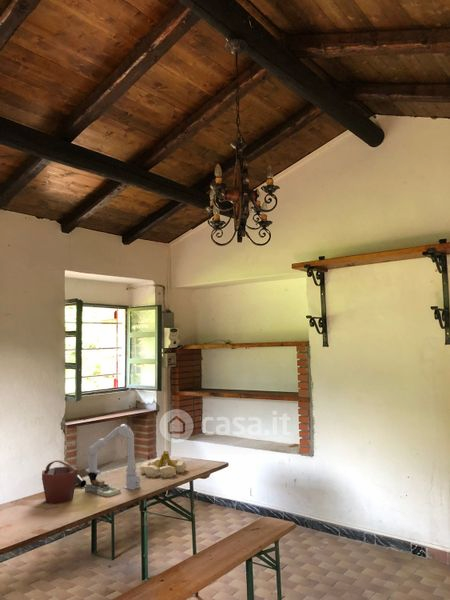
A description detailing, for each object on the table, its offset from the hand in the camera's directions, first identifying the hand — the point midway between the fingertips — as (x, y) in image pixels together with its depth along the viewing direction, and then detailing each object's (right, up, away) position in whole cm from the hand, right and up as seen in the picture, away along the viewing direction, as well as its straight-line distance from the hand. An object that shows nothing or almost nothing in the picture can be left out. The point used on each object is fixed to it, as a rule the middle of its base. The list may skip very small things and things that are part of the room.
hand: (92, 483), depth 326 cm
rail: (+4, -4, -3) cm, 6 cm away
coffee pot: (-15, -6, +5) cm, 17 cm away
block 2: (+7, 0, -5) cm, 8 cm away
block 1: (+3, -1, -2) cm, 4 cm away
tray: (+14, -2, -11) cm, 18 cm away
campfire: (+44, -8, +41) cm, 61 cm away
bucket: (-16, -2, -22) cm, 27 cm away
